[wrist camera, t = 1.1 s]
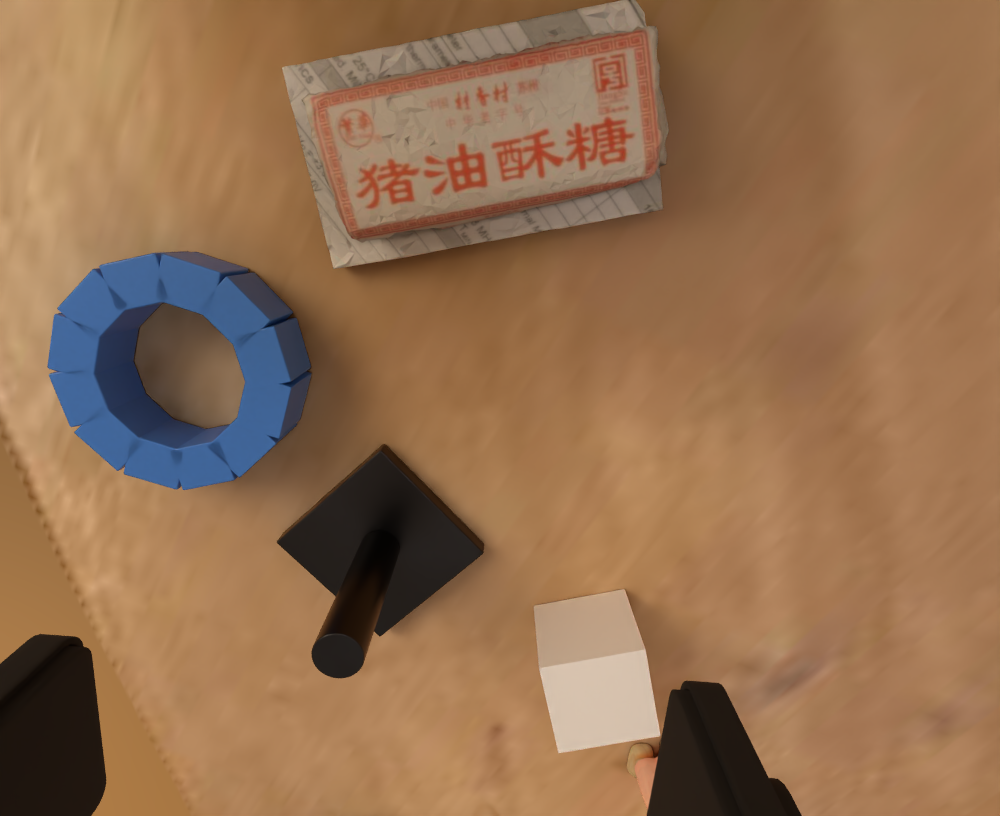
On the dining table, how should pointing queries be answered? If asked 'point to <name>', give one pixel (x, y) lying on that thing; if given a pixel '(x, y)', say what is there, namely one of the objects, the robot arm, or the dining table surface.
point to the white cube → (594, 672)
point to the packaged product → (483, 133)
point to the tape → (117, 386)
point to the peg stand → (376, 555)
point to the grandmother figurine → (642, 768)
